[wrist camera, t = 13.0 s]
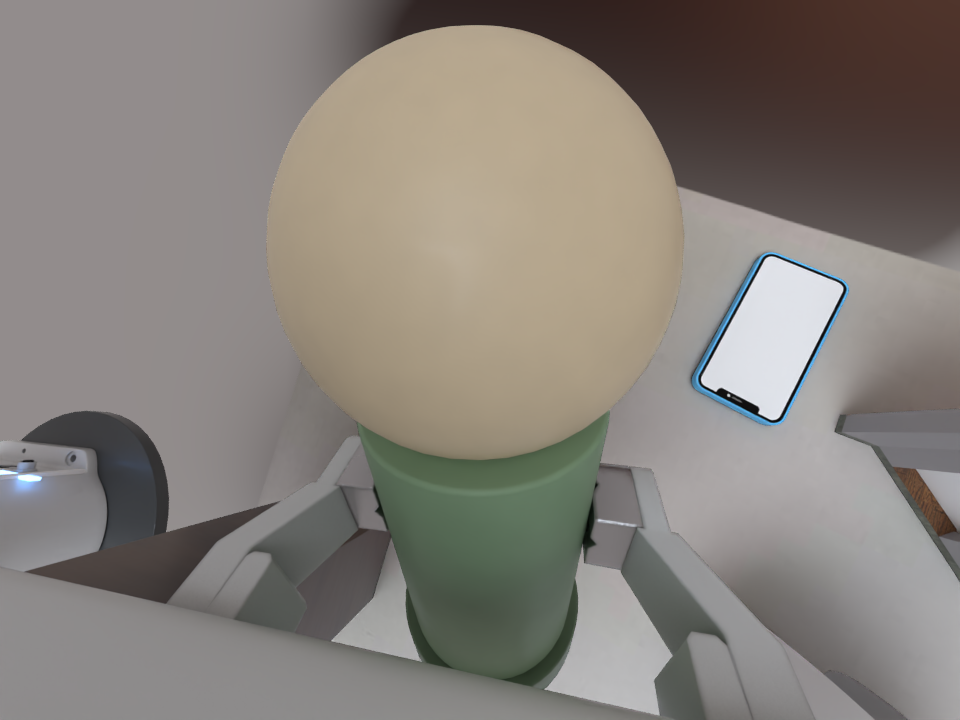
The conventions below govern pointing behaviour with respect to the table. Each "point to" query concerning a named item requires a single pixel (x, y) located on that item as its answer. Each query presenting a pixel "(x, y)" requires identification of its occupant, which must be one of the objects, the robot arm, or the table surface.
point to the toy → (478, 313)
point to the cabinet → (919, 466)
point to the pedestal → (175, 554)
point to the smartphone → (770, 338)
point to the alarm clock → (837, 693)
